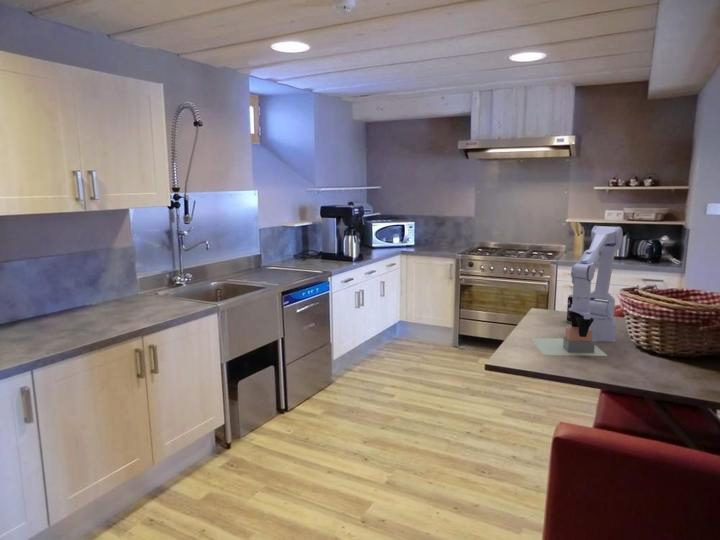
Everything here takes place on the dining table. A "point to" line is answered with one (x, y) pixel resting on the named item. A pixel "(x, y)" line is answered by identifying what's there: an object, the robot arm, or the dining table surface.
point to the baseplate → (559, 347)
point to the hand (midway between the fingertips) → (579, 333)
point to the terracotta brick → (577, 334)
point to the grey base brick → (578, 346)
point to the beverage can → (569, 307)
